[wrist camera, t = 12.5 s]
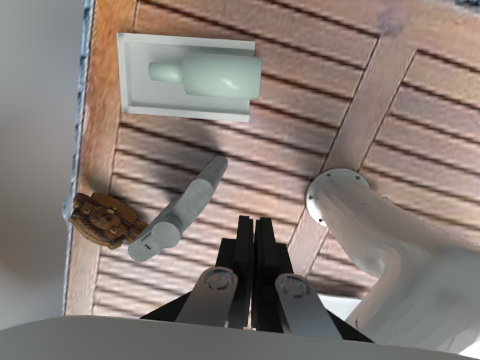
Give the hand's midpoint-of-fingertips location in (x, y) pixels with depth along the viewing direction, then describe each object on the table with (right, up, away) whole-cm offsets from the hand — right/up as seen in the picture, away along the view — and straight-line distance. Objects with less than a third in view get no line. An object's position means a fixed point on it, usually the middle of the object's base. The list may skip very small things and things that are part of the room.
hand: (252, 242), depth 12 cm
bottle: (+3, +20, +25) cm, 32 cm away
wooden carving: (-26, -3, +37) cm, 45 cm away
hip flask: (-9, +2, +35) cm, 36 cm away
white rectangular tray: (-9, +21, +29) cm, 37 cm away
